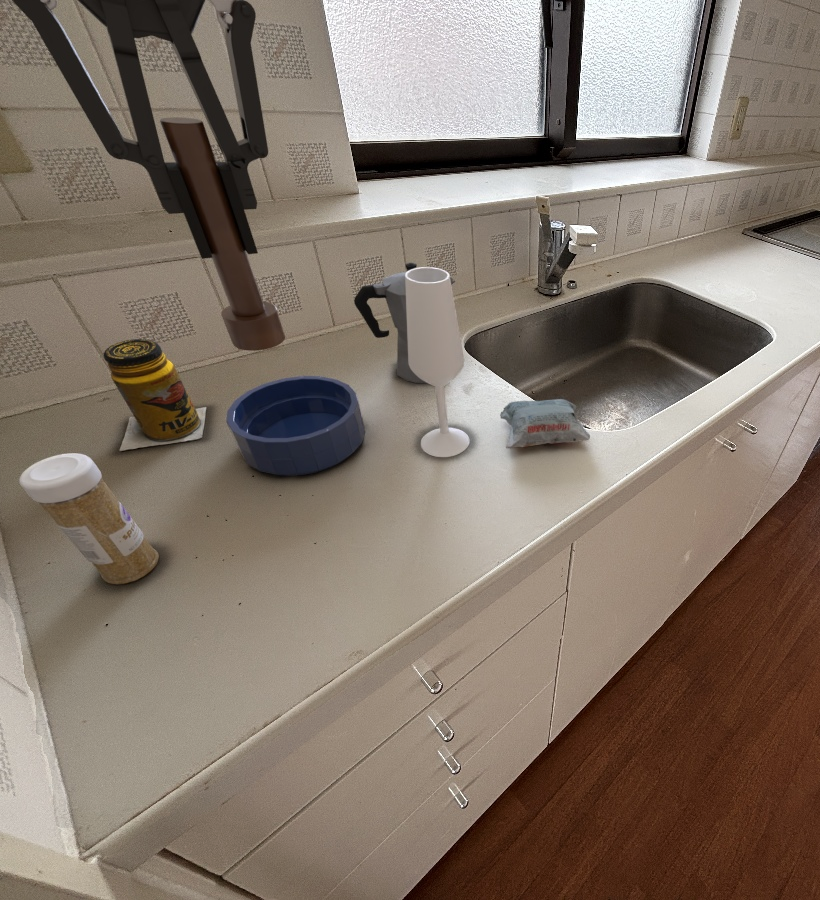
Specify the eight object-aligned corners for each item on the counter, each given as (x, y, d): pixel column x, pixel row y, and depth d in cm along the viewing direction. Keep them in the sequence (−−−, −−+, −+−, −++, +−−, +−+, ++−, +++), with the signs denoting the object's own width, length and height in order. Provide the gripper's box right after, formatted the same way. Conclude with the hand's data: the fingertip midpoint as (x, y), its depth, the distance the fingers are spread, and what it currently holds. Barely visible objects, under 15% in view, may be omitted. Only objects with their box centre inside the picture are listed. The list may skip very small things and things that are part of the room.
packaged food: (588, 451, 72) (591, 424, 69) (506, 458, 69) (505, 430, 66) (574, 417, 79) (577, 390, 76) (499, 422, 75) (498, 394, 72)
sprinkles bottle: (168, 565, 51) (100, 467, 42) (113, 594, 48) (27, 495, 39) (148, 542, 52) (78, 444, 44) (94, 569, 49) (7, 469, 41)
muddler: (224, 349, 46) (130, 121, 35) (243, 328, 49) (163, 112, 38) (276, 351, 47) (200, 128, 35) (291, 330, 50) (227, 119, 39)
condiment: (202, 439, 65) (161, 358, 58) (119, 452, 62) (65, 368, 54) (207, 408, 70) (170, 330, 62) (130, 419, 67) (82, 337, 59)
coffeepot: (448, 348, 90) (439, 247, 79) (473, 372, 85) (467, 268, 74) (361, 369, 82) (336, 259, 71) (382, 397, 77) (360, 284, 65)
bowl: (223, 480, 60) (204, 442, 56) (266, 410, 71) (253, 374, 67) (352, 478, 63) (342, 441, 59) (375, 411, 74) (367, 376, 70)
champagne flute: (439, 422, 74) (420, 259, 58) (478, 436, 72) (470, 273, 57) (410, 447, 69) (381, 276, 53) (452, 463, 67) (435, 292, 52)
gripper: (-164, -249, 22) (111, 278, 37) (250, -139, 30) (337, 255, 45) (-125, -214, 26) (107, 246, 41) (228, -127, 34) (314, 229, 49)
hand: (227, 250), depth 43 cm, fingers closed on muddler, 3 cm apart
